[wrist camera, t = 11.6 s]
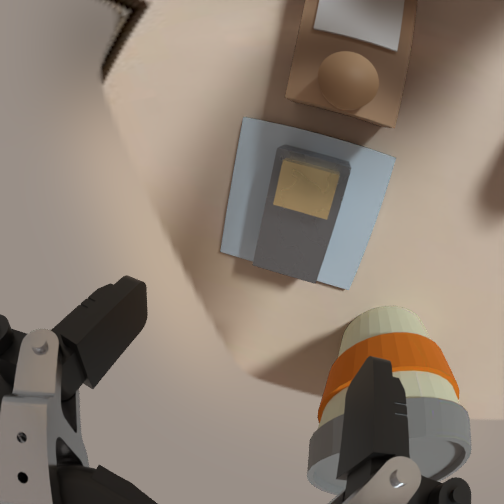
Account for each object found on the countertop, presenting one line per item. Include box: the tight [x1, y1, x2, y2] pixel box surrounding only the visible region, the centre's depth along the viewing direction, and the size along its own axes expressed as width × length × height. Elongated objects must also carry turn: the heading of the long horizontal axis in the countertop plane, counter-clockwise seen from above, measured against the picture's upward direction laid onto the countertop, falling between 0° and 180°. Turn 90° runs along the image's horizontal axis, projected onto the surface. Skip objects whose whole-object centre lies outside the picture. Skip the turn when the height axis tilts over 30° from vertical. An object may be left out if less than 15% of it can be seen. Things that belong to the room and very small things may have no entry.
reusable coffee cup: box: [307, 306, 471, 495], centre depth 20 cm, size 12×12×15 cm
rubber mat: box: [220, 117, 396, 290], centre depth 23 cm, size 12×12×1 cm
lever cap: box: [253, 144, 351, 283], centre depth 21 cm, size 9×5×4 cm, turn 169°
